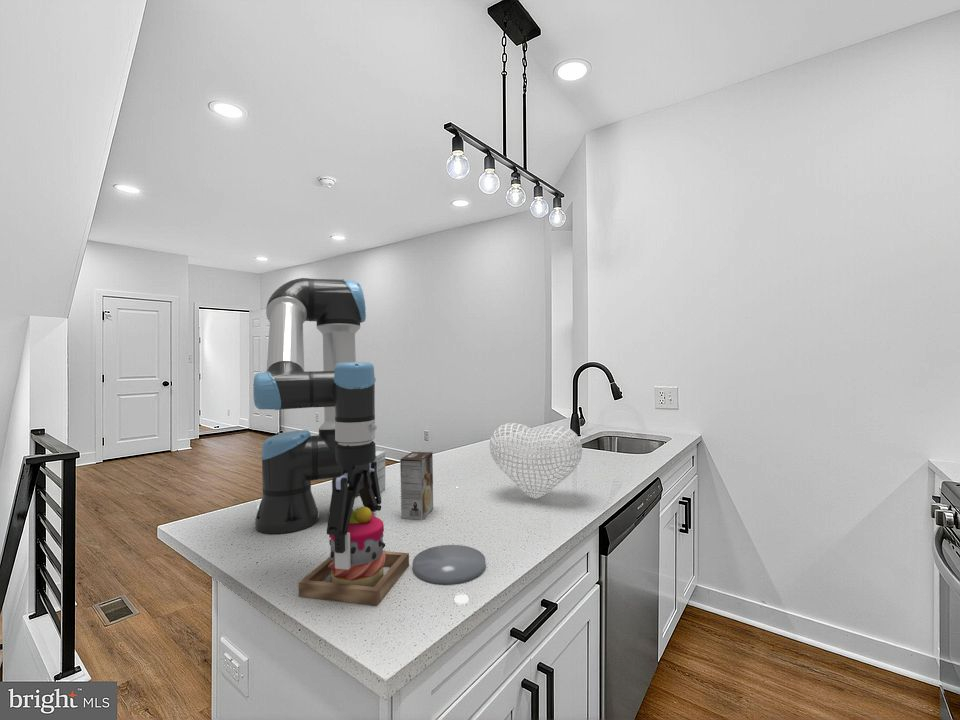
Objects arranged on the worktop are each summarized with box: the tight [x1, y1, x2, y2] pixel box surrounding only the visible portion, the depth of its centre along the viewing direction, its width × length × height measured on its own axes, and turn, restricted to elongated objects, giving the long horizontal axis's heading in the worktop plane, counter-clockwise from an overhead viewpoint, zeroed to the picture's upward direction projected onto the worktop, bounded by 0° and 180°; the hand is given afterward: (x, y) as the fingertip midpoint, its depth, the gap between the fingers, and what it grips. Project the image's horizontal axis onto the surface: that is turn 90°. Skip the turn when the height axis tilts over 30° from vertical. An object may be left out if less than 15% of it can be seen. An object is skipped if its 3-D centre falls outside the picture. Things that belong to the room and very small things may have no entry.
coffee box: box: [399, 451, 434, 521], centre depth 126 cm, size 9×6×16 cm
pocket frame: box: [297, 550, 410, 606], centre depth 90 cm, size 15×15×2 cm
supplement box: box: [374, 450, 386, 494], centre depth 145 cm, size 7×7×13 cm
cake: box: [328, 506, 386, 587], centre depth 89 cm, size 10×11×15 cm
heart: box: [489, 422, 583, 499], centre depth 138 cm, size 28×16×22 cm, turn 65°
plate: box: [412, 544, 486, 585], centre depth 95 cm, size 15×15×1 cm
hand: (357, 554), depth 90 cm, fingers closed on cake, 10 cm apart
